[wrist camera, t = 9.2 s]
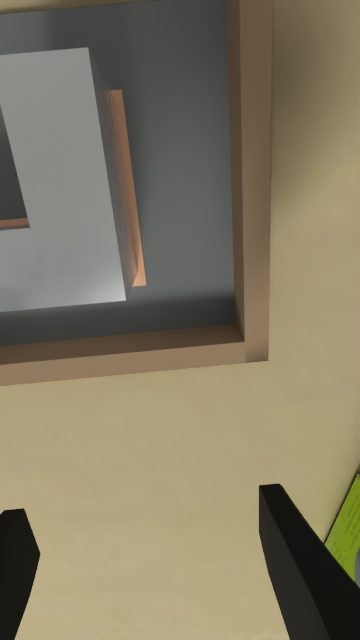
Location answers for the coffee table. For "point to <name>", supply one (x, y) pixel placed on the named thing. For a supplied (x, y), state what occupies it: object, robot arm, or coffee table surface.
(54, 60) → the l block
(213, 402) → the coffee table surface
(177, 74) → the arena
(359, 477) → the box
